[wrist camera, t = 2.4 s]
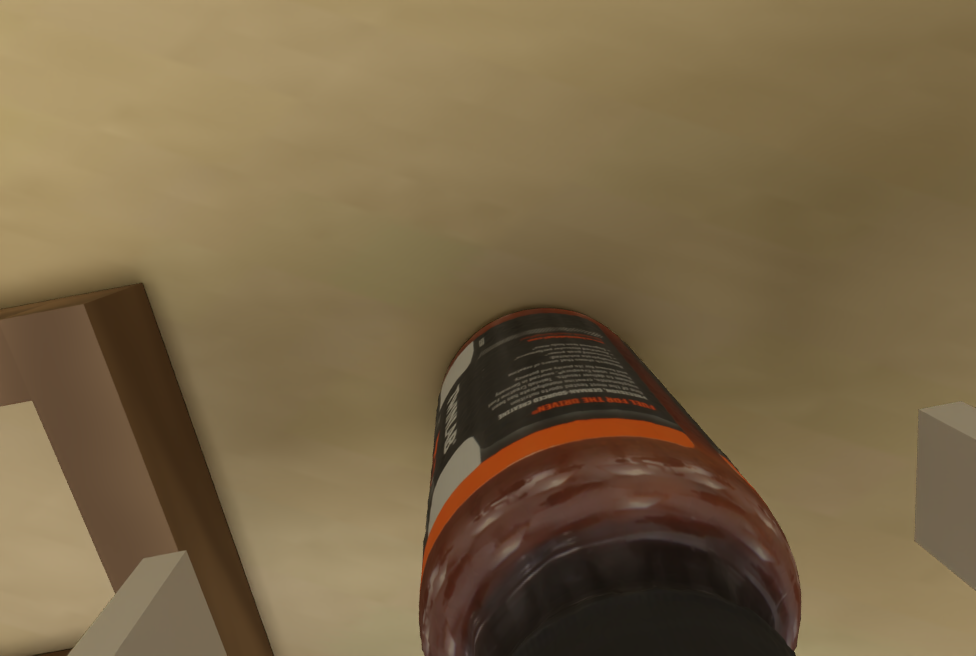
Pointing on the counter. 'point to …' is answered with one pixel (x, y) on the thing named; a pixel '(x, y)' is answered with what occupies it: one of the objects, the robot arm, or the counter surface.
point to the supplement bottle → (590, 510)
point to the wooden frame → (127, 444)
